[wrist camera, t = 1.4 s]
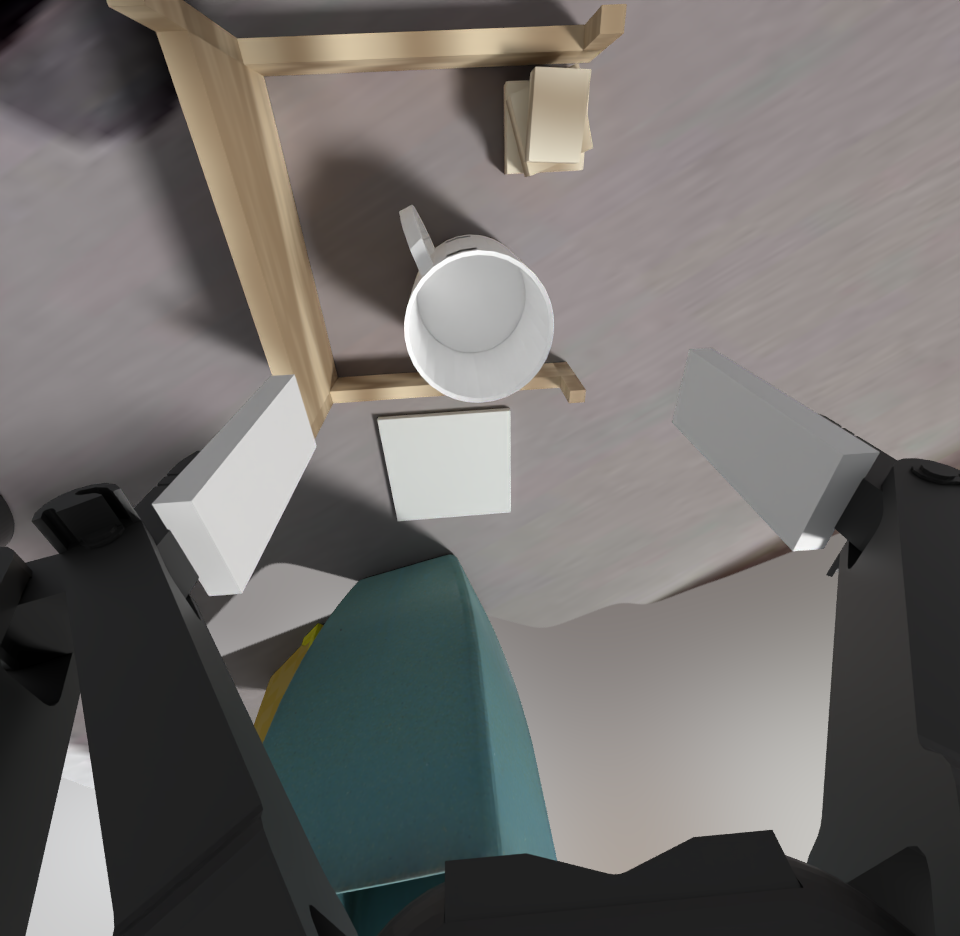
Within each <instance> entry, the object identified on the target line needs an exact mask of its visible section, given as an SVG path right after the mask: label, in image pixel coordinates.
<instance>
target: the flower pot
mask: <svg viewBox="0 0 960 936" xmlns="http://www.w3.org/2000/svg"><path fill="white" fill-rule="evenodd" d="M263 746H264V748H265V750H266V752H267V754H268V756H269V758H270V760H271V763H272V765H273V767H274V769H275V771H276V773H277V775H278V777H279V779H280V782H281V784H282V786H283V788H284V790H285V792H286V794H287V796H288V798H289V800H290V803H291V805H292V807H293V809H294V811H295V813H296V815H297V817H298V819H299V822H300V824H301V826H302V828H303V830H304V832H305V834H306V836H307V838H308V840H309V843H310V845H311V847H312V849H313V851H314V853H315V855H316V857H317V859H318V862H319V864H320V866H321V868H322V870H323V872H324V874H325V876H326V877H327V879H328V881H329V883H330V885H331V886H332V888H333V890H334V891H335V893H336V895H337V896H338V898H339V900H340V901H341V903H342V905H343V907H344V909H345V910H346V912H347V914H348V916H349V918H350V920H351V922H352V924H353V926H354V928H355V930H356V932H357V934H358V936H377V935H378V934H379V932H380V931H381V930H382V929H383V928H384V927H385V926H386V924H387V923H388V922H389V921H390V920H391V919H392V918H393V917H394V916H395V915H396V914H398V913H399V912H400V911H401V910H402V909H403V908H404V907H405V906H407V905H408V904H409V903H410V902H411V901H413V900H414V899H416V898H417V897H419V896H420V895H422V894H423V893H425V892H426V891H427V890H429V889H431V888H433V887H435V886H437V885H439V884H441V883H443V882H445V861H449V860H460V859H471V858H481V857H492V856H502V855H513V854H523V853H528V854H532V855H536V856H540V857H544V858H548V859H552V860H556V861H557V858H556V853H555V848H554V844H553V839H552V834H551V829H550V825H549V821H548V815H547V811H546V806H545V801H544V797H543V792H542V787H541V783H540V778H539V773H538V768H537V763H536V758H535V754H534V749H533V744H532V741H531V737H530V733H529V729H528V725H527V722H526V718H525V715H524V711H523V708H522V705H521V701H520V699H519V695H518V692H517V689H516V686H515V683H514V680H513V677H512V675H511V672H510V669H509V666H508V664H507V661H506V658H505V656H504V653H503V651H502V648H501V646H500V644H499V641H498V639H497V636H496V634H495V632H494V629H493V628H492V625H491V623H490V621H489V619H488V617H487V615H486V613H485V611H484V609H483V607H482V605H481V603H480V601H479V599H478V597H477V595H476V594H475V592H474V590H473V588H472V586H471V584H470V582H469V580H468V578H467V576H466V574H465V572H464V570H463V568H462V566H461V565H460V563H459V561H458V559H457V558H456V557H455V556H454V555H445V556H442V557H438V558H434V559H431V560H428V561H424V562H421V563H417V564H414V565H410V566H407V567H403V568H400V569H396V570H393V571H390V572H386V573H383V574H379V575H376V576H372V577H369V578H365V579H362V580H360V581H358V582H357V584H356V585H355V586H354V587H353V588H352V589H351V590H350V592H349V593H348V594H347V595H346V596H345V598H344V599H343V600H342V601H341V603H340V604H339V605H338V606H337V607H336V609H335V610H334V612H333V613H332V614H331V616H330V617H329V618H328V620H327V621H326V623H325V624H324V626H323V627H322V629H321V630H320V632H319V633H318V635H317V636H316V638H315V640H314V641H313V643H312V644H311V646H310V647H309V649H308V651H307V652H306V654H305V656H304V657H303V659H302V661H301V663H300V665H299V666H298V668H297V670H296V672H295V674H294V676H293V678H292V680H291V682H290V684H289V685H288V687H287V689H286V691H285V693H284V695H283V697H282V699H281V701H280V703H279V706H278V708H277V711H276V713H275V715H274V718H273V720H272V722H271V725H270V727H269V729H268V732H267V734H266V737H265V739H264V741H263Z"/></svg>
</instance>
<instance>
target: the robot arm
mask: <svg viewBox="0 0 960 936" xmlns="http://www.w3.org/2000/svg"><path fill="white" fill-rule="evenodd" d="M672 423H673V424H674V425H675V426H676V427H677V428H678V429H679V430H680V431H681V432H682V434H683V435H684V436H685V437H686V438H687V439H688V440H689V441H690V442H691V443H692V444H693V445H694V446H695V447H696V448H697V450H698V451H699V452H700V453H701V454H702V455H703V456H704V457H705V458H706V459H707V460H708V461H709V462H710V463H711V464H712V466H713V467H714V468H715V469H716V470H717V471H718V472H719V473H720V474H721V475H722V476H723V477H724V478H725V479H726V480H727V482H728V483H729V484H730V485H731V486H732V487H733V488H734V489H735V490H736V491H737V492H738V493H739V494H740V495H741V496H742V498H743V499H744V500H745V501H746V502H747V503H748V504H749V505H750V506H751V507H752V508H753V509H754V510H755V511H756V512H757V514H758V515H759V516H760V517H761V518H762V519H763V520H764V521H765V522H766V523H767V524H768V525H769V526H770V527H771V528H772V530H773V531H774V532H775V533H776V534H777V535H778V536H779V537H780V538H781V539H782V540H783V541H784V542H785V543H786V544H787V546H788V547H789V548H790V549H791V550H792V551H801V550H813V549H824V548H825V546H826V544H827V542H828V541H829V539H830V537H831V535H832V534H833V532H834V530H835V529H836V530H837V531H838V532H839V533H841V534H842V535H843V536H844V537H845V538H846V539H847V542H846V543H845V545H844V547H843V548H842V550H841V551H840V553H839V555H838V556H837V558H836V560H835V561H834V563H833V564H832V566H831V568H830V569H829V571H828V573H827V575H828V576H831V577H832V576H833V574H834V573H835V572H837V571H839V575H838V590H837V604H836V620H835V634H834V648H833V663H832V678H831V692H830V707H829V721H828V736H827V737H828V738H827V751H826V765H825V780H824V796H823V810H822V820H821V827H820V830H819V834H818V837H817V839H816V842H815V844H814V846H813V848H812V850H811V852H810V855H809V858H808V862H807V863H805V862H802V861H799V860H797V859H794V858H791V857H789V856H786V855H785V854H784V852H783V850H782V848H781V846H780V844H779V842H778V840H777V838H776V837H775V834H774V832H773V830H766V831H755V832H745V833H735V834H724V835H713V836H702V837H693V838H691V839H689V840H687V841H686V842H683V843H682V844H679V845H678V846H676V847H674V848H672V849H670V850H668V851H666V852H664V853H662V854H660V855H658V856H656V857H655V858H652V859H650V860H648V861H646V862H644V863H643V864H641V865H639V866H637V867H635V868H633V869H631V870H629V871H627V872H625V873H622V874H615V875H613V874H607V873H603V872H599V871H595V870H591V869H587V868H583V867H580V866H575V865H571V864H568V863H564V862H560V861H556V860H552V859H548V858H544V857H540V856H536V855H532V854H528V853H523V854H513V855H502V856H492V857H481V858H471V859H460V860H449V861H445V882H443V883H441V884H439V885H437V886H435V887H433V888H431V889H429V890H427V891H426V892H425V893H423V894H422V895H420V896H419V897H417V898H416V899H414V900H413V901H411V902H410V903H409V904H408V905H407V906H405V907H404V908H403V909H402V910H401V911H400V912H399V913H398V914H396V915H395V916H394V917H393V918H392V919H391V920H390V921H389V922H388V923H387V924H386V926H385V927H384V928H383V929H382V930H381V931H380V932H379V934H378V935H377V936H960V470H958V469H955V468H953V467H951V466H948V465H945V464H941V463H938V462H934V461H930V460H923V459H917V458H911V459H901V460H898V461H897V460H896V459H894V458H892V457H891V456H889V455H887V454H886V453H884V452H883V451H881V450H879V449H878V448H876V447H874V446H873V445H871V444H870V443H868V442H866V441H865V440H863V439H861V438H860V437H858V436H854V434H853V433H852V432H850V431H848V430H847V429H845V428H841V426H840V425H839V424H837V423H835V422H834V421H832V420H831V419H829V418H827V417H826V416H823V415H820V414H818V413H816V412H814V411H813V410H811V409H810V408H808V407H806V406H805V405H803V404H802V403H800V402H798V401H797V400H795V399H794V398H792V397H790V396H789V395H787V394H786V393H784V392H782V391H781V390H779V389H777V388H776V387H774V386H773V385H771V384H769V383H768V382H766V381H765V380H763V379H761V378H760V377H758V376H757V375H755V374H753V373H752V372H750V371H748V370H747V369H745V368H744V367H742V366H740V365H739V364H737V363H736V362H734V361H732V360H731V359H729V358H728V357H726V356H724V355H723V354H721V353H720V352H718V351H716V350H715V349H713V348H701V349H689V353H688V357H687V362H686V366H685V370H684V374H683V378H682V382H681V386H680V391H679V395H678V399H677V403H676V407H675V411H674V415H673V420H672ZM316 447H317V446H316V443H315V439H314V436H313V433H312V430H311V426H310V423H309V420H308V417H307V413H306V410H305V407H304V404H303V400H302V397H301V394H300V390H299V387H298V384H297V381H296V377H295V374H292V375H276V376H270V377H269V378H268V379H267V381H266V382H265V383H264V384H263V385H262V386H261V387H260V388H259V389H258V390H257V391H256V392H255V393H254V395H253V396H252V397H251V398H250V399H249V400H248V401H247V402H246V403H245V404H244V405H243V406H242V407H241V409H240V410H239V411H238V412H237V413H236V414H235V415H234V416H233V417H232V418H231V419H230V420H229V421H228V422H227V424H226V425H225V426H224V427H223V428H222V429H221V430H220V431H219V432H218V433H217V434H216V435H215V436H214V438H213V439H212V440H211V441H210V442H209V443H208V444H207V445H206V446H205V447H204V448H203V449H202V450H201V451H196V452H195V453H193V454H192V455H190V456H188V457H187V458H185V459H183V460H182V461H180V462H179V463H178V464H177V465H176V466H175V467H174V468H173V469H172V470H171V471H170V472H169V473H168V474H167V475H168V476H167V477H164V478H163V479H162V480H161V481H160V482H159V483H158V487H154V488H153V489H152V490H151V492H150V493H149V494H148V495H147V496H146V497H145V498H144V499H143V500H142V501H141V502H140V503H139V504H138V505H137V506H136V507H135V508H133V507H132V505H131V504H130V502H129V501H128V499H127V498H126V496H125V495H124V493H123V492H122V490H121V489H120V488H119V487H118V486H117V485H115V484H108V483H102V484H94V485H89V486H85V487H82V488H78V489H75V490H72V491H70V492H68V493H65V494H63V495H61V496H58V497H57V498H55V499H53V500H52V501H50V502H48V503H47V504H45V505H44V506H43V507H41V508H40V509H39V510H38V511H37V512H36V513H35V515H34V517H33V519H32V522H33V523H34V524H35V526H36V527H37V528H38V529H39V530H40V531H41V533H42V534H43V535H44V536H45V537H46V539H47V540H48V541H49V542H50V543H51V544H52V546H53V547H54V548H55V549H56V550H57V551H58V553H59V554H57V555H53V556H49V557H46V558H42V559H38V560H34V561H30V562H27V563H25V562H24V561H23V560H22V559H21V558H20V557H19V556H18V555H17V554H16V553H15V552H14V551H13V550H12V549H10V548H8V547H4V546H5V545H7V544H8V542H9V541H10V540H11V538H12V536H13V533H14V520H13V517H12V514H11V511H10V509H9V507H8V506H7V504H6V502H5V501H4V500H3V498H2V497H1V496H0V936H25V935H26V930H27V926H28V921H29V917H30V913H31V908H32V903H33V899H34V894H35V891H36V886H37V882H38V877H39V873H40V868H41V864H42V859H43V855H44V850H45V846H46V842H47V837H48V833H49V829H50V824H51V819H52V815H53V811H54V806H55V802H56V798H57V793H58V789H59V784H60V780H61V775H62V771H63V767H64V762H65V758H66V753H67V749H68V745H69V740H70V736H71V731H72V727H73V722H74V718H75V714H76V709H77V705H78V700H79V696H80V692H81V699H82V705H83V712H84V719H85V725H86V732H87V739H88V745H89V752H90V759H91V765H92V772H93V779H94V785H95V791H96V799H97V805H98V812H99V819H100V825H101V831H102V839H103V845H104V852H105V859H106V866H107V872H108V879H109V885H110V892H111V898H112V905H113V911H114V932H113V936H358V934H357V932H356V930H355V928H354V926H353V924H352V922H351V920H350V918H349V916H348V914H347V912H346V910H345V909H344V907H343V905H342V903H341V901H340V900H339V898H338V896H337V895H336V893H335V891H334V890H333V888H332V886H331V885H330V883H329V881H328V879H327V877H326V876H325V874H324V872H323V870H322V868H321V866H320V864H319V862H318V859H317V857H316V855H315V853H314V851H313V849H312V847H311V845H310V843H309V840H308V838H307V836H306V834H305V832H304V830H303V828H302V826H301V824H300V822H299V819H298V817H297V815H296V813H295V811H294V809H293V807H292V805H291V803H290V800H289V798H288V796H287V794H286V792H285V790H284V788H283V786H282V784H281V782H280V779H279V777H278V775H277V773H276V771H275V769H274V767H273V765H272V763H271V760H270V758H269V756H268V754H267V752H266V750H265V748H264V746H263V744H262V742H261V739H260V737H259V735H258V733H257V731H256V729H255V727H254V725H253V723H252V720H251V718H250V716H249V714H248V712H247V710H246V708H245V706H244V704H243V702H242V699H241V697H240V695H239V693H238V691H237V689H236V687H235V685H234V683H233V680H232V678H231V676H230V674H229V672H228V670H227V668H226V666H225V664H224V661H223V659H222V657H221V655H220V653H219V651H218V649H217V647H216V645H215V643H214V641H213V638H212V636H211V634H210V632H209V630H208V628H207V626H206V624H205V621H204V619H203V617H202V615H201V613H200V611H199V609H198V607H197V605H196V603H195V601H194V600H193V598H192V597H191V595H190V591H191V590H192V588H193V586H194V585H195V583H196V582H197V580H198V579H199V581H200V582H201V584H202V586H203V587H204V589H205V591H206V592H207V594H208V595H209V596H218V595H231V594H242V593H243V591H244V589H245V587H246V585H247V583H248V581H249V579H250V577H251V575H252V573H253V571H254V570H255V568H256V566H257V564H258V562H259V560H260V558H261V556H262V554H263V552H264V550H265V548H266V546H267V544H268V542H269V540H270V538H271V536H272V534H273V532H274V530H275V528H276V526H277V524H278V522H279V520H280V518H281V516H282V514H283V512H284V510H285V508H286V506H287V504H288V502H289V500H290V498H291V496H292V494H293V492H294V490H295V488H296V486H297V484H298V482H299V480H300V478H301V476H302V474H303V472H304V470H305V469H306V467H307V465H308V463H309V461H310V459H311V457H312V455H313V453H314V451H315V449H316Z"/></svg>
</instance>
